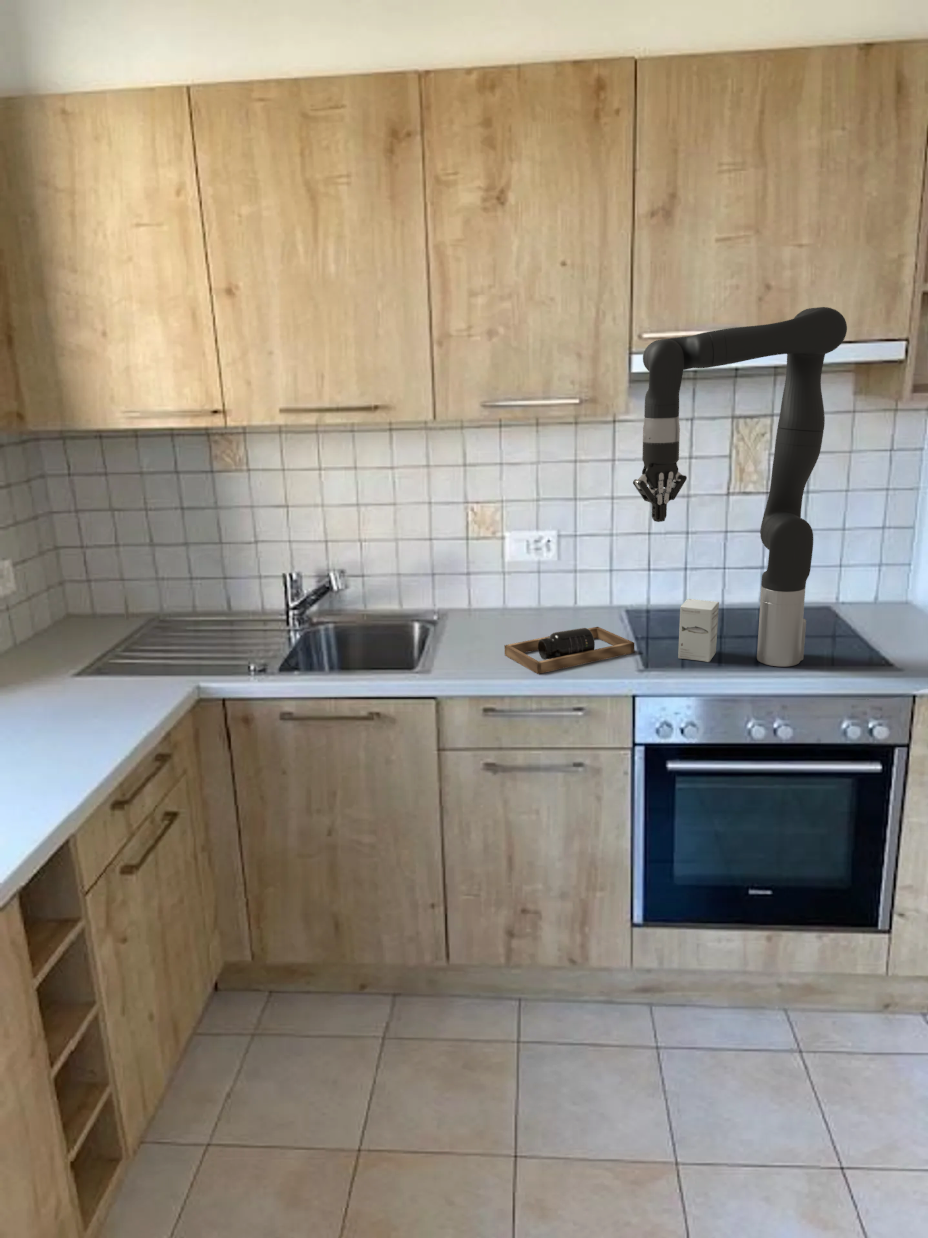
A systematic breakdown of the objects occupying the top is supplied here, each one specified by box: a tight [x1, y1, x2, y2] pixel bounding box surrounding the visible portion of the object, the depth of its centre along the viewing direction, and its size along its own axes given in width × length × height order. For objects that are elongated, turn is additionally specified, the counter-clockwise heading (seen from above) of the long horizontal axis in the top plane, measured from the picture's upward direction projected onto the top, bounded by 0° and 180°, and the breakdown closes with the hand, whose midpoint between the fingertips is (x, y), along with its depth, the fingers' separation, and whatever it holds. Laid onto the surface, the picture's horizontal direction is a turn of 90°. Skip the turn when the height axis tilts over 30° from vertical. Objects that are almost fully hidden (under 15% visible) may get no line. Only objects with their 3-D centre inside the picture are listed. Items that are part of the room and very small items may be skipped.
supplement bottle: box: [537, 627, 596, 661], centre depth 208 cm, size 7×7×12 cm
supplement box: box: [677, 598, 720, 663], centre depth 206 cm, size 7×7×13 cm
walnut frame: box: [504, 626, 635, 675], centre depth 212 cm, size 26×15×2 cm, turn 117°
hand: (659, 520), depth 193 cm, fingers closed
